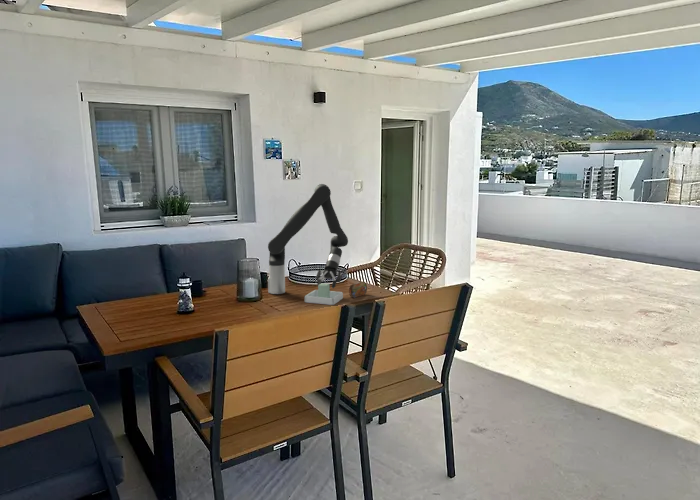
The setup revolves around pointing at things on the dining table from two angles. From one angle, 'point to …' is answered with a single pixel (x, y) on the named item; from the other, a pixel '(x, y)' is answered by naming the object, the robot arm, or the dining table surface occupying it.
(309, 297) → the tray
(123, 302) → the dining table surface
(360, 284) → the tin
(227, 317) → the dining table surface
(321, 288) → the green block
